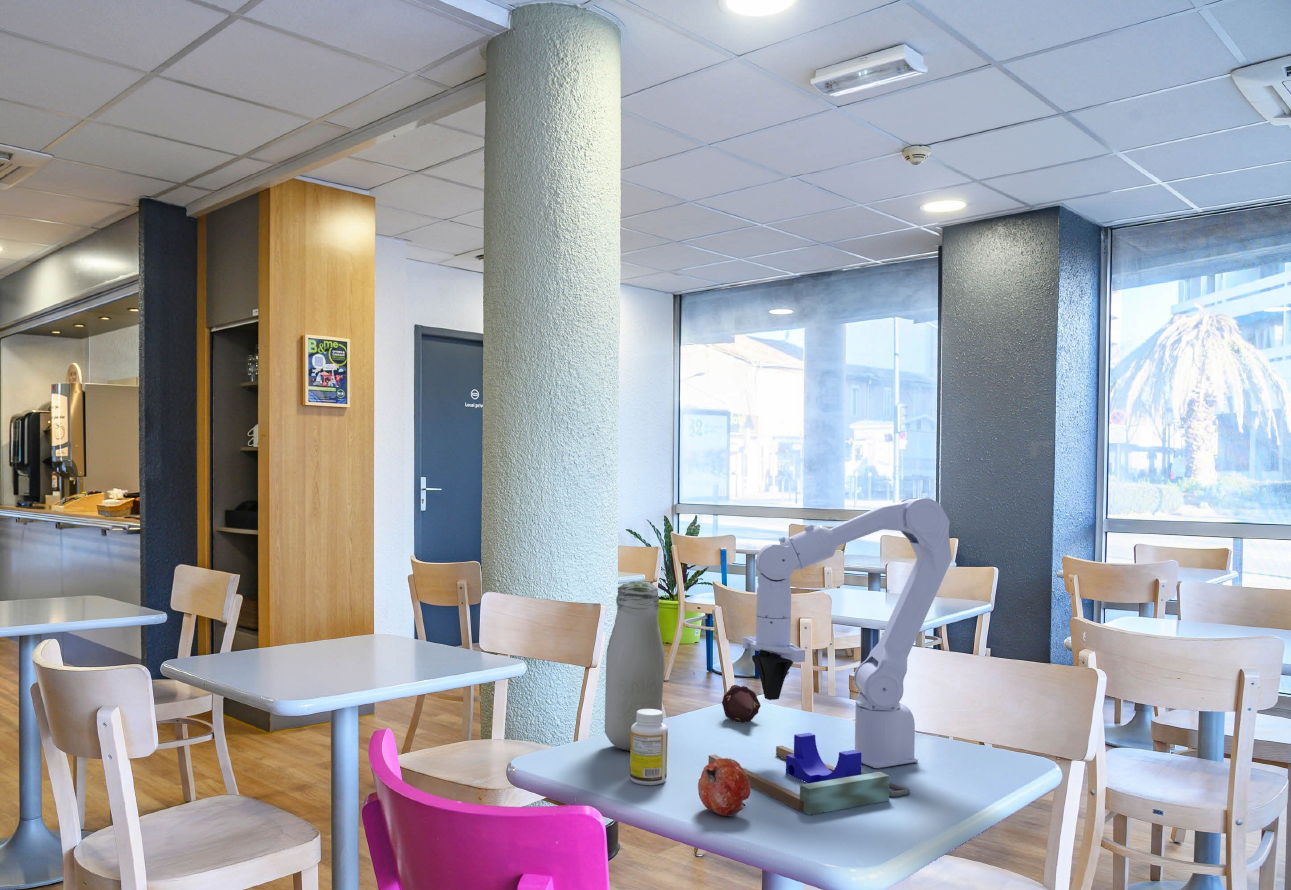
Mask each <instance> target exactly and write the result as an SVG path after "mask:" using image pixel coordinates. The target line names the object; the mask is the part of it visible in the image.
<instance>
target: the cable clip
mask: <svg viewBox="0 0 1291 890" xmlns="http://www.w3.org/2000/svg"><path fill="white" fill-rule="evenodd" d="M817 747H818V746H817V742H816V734H814V733H812V732H805V733H804V732H803V733H796V734H793V750H794V754H790V755H786V760H785V774H786V773H787V774H786V775H788V774H789V776H790V775H791V777H793V776H794V777H793V778H795V777H796V778H795V779H797V778H798V780H799V779H800V781H801V780H803V781H802V782H804V781H805V782H804V783H806V782H807V783H806V784H808V783H814V782H820V781H826V780H832V779H838V778H845V777H851V776H857V775H861V770H862V763H861V754H862V752H859V751H856V750H855V749H850V750H843V751H839V752H838V760H837V763H836V765H835V766H834V767H835V769H834V771H831V770H830V769H828V768H827V767H826V766H825V764H824V763H825V762H823V760H822V758H821V755H820V752H819V750H818V748H817Z"/></svg>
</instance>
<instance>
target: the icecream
mask: <svg viewBox="0 0 1291 890" xmlns="http://www.w3.org/2000/svg"><path fill="white" fill-rule="evenodd" d="M721 705H722V707H723V712H724V715H725V717H727V718H728V719H730V720H731V721H733V722H734V721H735V723H736V722H741V723H749V722H751V721H752V720H753V719H754V718H755V716H756V715H758V714H759V709H760V708H761V703H760V701H759V698H758V696H757V693H756V692H755V691H754V690H751V689H750V688H748V686H745V685H743V686H740V685H738V684H733V685H731V686H730V688H729V689H728V690H727V692H726V693H725V694H724V695H723V698H722V702H721Z"/></svg>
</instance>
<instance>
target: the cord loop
mask: <svg viewBox="0 0 1291 890" xmlns="http://www.w3.org/2000/svg"><path fill="white" fill-rule="evenodd" d="M869 773H870V772H867V771H865V770H862V769H861V775H863V774H869ZM889 788H891V789H894V790H895V791H892V790H890V789H889V797H892V798H894V797H900V796H905V795H907V796H908V795H909V794H911V790H910V789H909V788H907V787H905V786H902V785H900V784H897V783H894V782H892V781H890V780H889Z"/></svg>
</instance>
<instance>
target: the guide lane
mask: <svg viewBox="0 0 1291 890" xmlns="http://www.w3.org/2000/svg"><path fill="white" fill-rule="evenodd" d="M775 748H776V749H775V756H776V755H777V756H776V757H779V756H780V757H779V758H781V757H782V758H781V759H783V758H784V759H783V760H785V761H786V755H790V754H794V749H792V748H789V747H787V746H784V745H777V746H776V747H775ZM717 759H723V757H721V756H719V755H717V754H710V755H708V760H707V761H708V764H712V763H714V762H715V760H717ZM823 763H824V764H825V766H826V767H827V768H828V769H830V770H831V771H834V769H835V767H836V766H832V765H830V764H828V763H826V762H823ZM708 764H707V765H708ZM742 768H743V767H742ZM743 770H744V771H745V773H746V775H747V776H748V779H749V783H750V787H751V786H752V787H751V788H753V789H755V788H756V789H755V790H757V789H758V791H759V790H760V792H761V793H763V792H764V793H763V794H765V793H766V794H765V795H767V794H768V795H767V796H769V795H770V797H771V796H772V798H773V797H774V799H775V798H776V800H777V801H779V800H780V802H781V801H782V802H781V803H783V802H784V803H783V804H785V805H787V804H788V805H787V806H789V807H791V806H792V807H791V808H794V809H795V808H796V809H795V810H797V809H798V810H797V811H799V810H800V812H801V813H803V812H804V813H803V814H805V813H806V815H808V816H812V815H817V814H818V813H819V814H824V813H831V812H834V811H838V810H839V811H841V810H847V809H850V808H856V807H861V806H866V805H867V806H868V805H871V804H872V805H873V804H877V803H883V802H887V801H888V802H889V801H890V796H889V790H890V787H889V781H890V775H888V774H886V773H884V772H881V771H875V772H871V773H870V772H868V773H869V774H863V775H857V776H851V777H845V778H838V779H832V780H826V781H820V782H814V783H803V784H802V783H801V784H799V794H798V793H797V792H794V791H792V790H790V789H788V788H786V787H784V786H782V785H780V784H778V783H775V782H773V781H772V780H769V779H767V778H765V777H763V776H761V775H759V774H757V773H754V772H753V771H750V770H749V769H747V768H743ZM823 812H824V813H823ZM811 814H812V815H811Z"/></svg>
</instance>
